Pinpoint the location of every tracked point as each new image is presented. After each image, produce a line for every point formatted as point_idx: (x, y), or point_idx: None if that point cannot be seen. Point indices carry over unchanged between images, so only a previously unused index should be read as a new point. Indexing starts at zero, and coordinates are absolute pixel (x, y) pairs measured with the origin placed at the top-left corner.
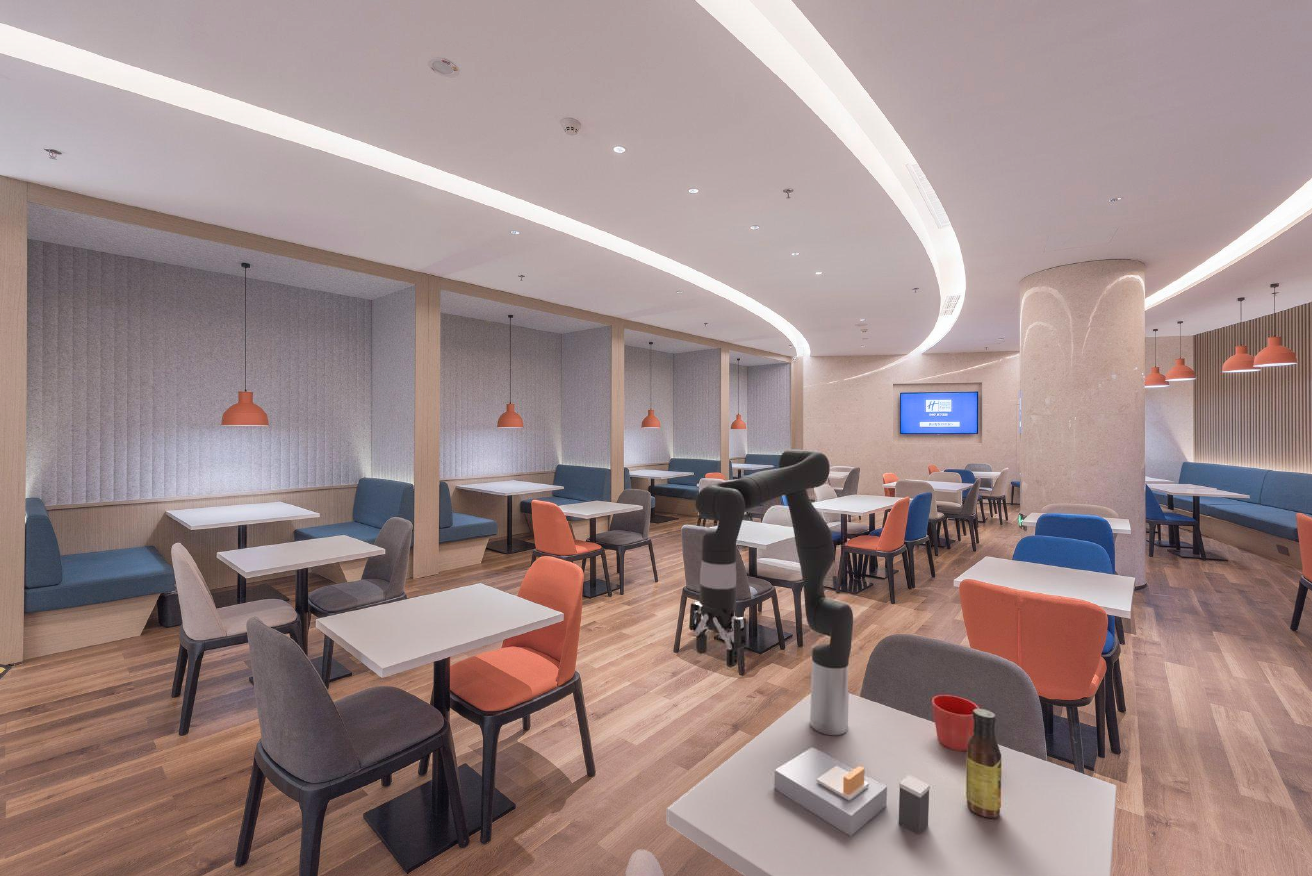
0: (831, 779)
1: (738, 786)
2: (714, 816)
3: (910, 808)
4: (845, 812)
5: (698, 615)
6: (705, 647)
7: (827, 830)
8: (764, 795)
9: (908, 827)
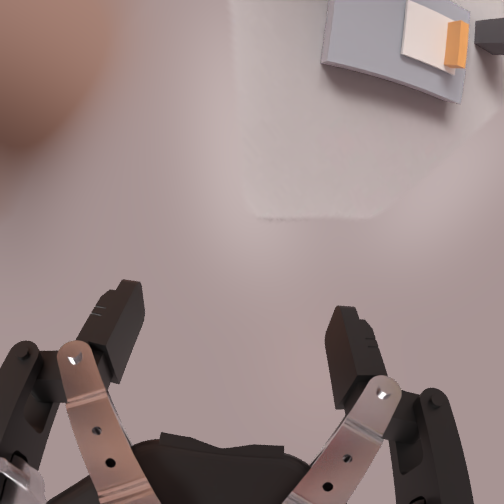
0: (420, 42)
1: (271, 98)
2: (285, 185)
3: (502, 50)
4: (453, 100)
5: (22, 442)
6: (132, 301)
7: (420, 106)
8: (317, 89)
9: (484, 48)
